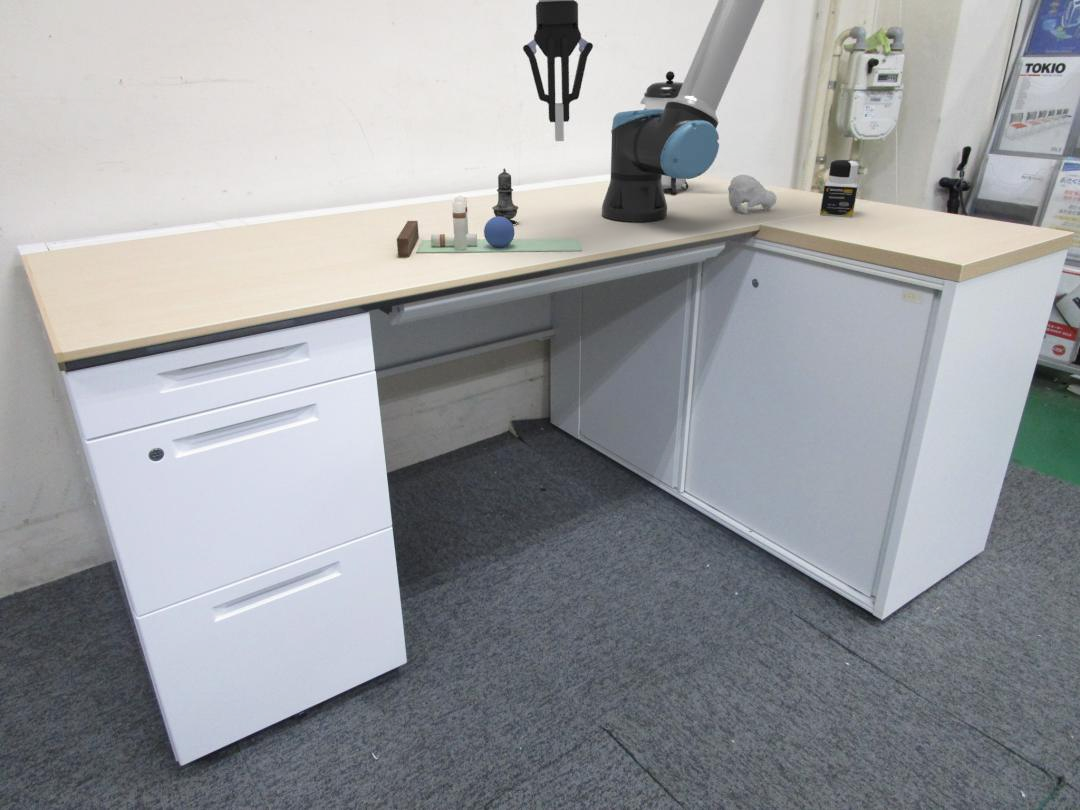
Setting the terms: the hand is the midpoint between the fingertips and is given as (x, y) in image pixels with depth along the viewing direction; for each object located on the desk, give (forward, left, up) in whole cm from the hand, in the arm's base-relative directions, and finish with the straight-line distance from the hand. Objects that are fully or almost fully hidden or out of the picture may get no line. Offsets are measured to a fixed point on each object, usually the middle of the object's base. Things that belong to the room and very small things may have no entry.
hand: (559, 140), depth 143 cm
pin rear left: (+19, +5, -20) cm, 28 cm away
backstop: (+30, +2, -20) cm, 36 cm away
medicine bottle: (-67, -26, -20) cm, 74 cm away
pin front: (+16, +3, -19) cm, 25 cm away
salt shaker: (+11, -19, -20) cm, 29 cm away
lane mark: (+12, +2, -20) cm, 23 cm away
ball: (+12, +4, -17) cm, 21 cm away
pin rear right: (+19, 0, -20) cm, 28 cm away
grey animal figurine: (-48, -30, -20) cm, 60 cm away
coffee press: (-33, -59, -20) cm, 70 cm away
